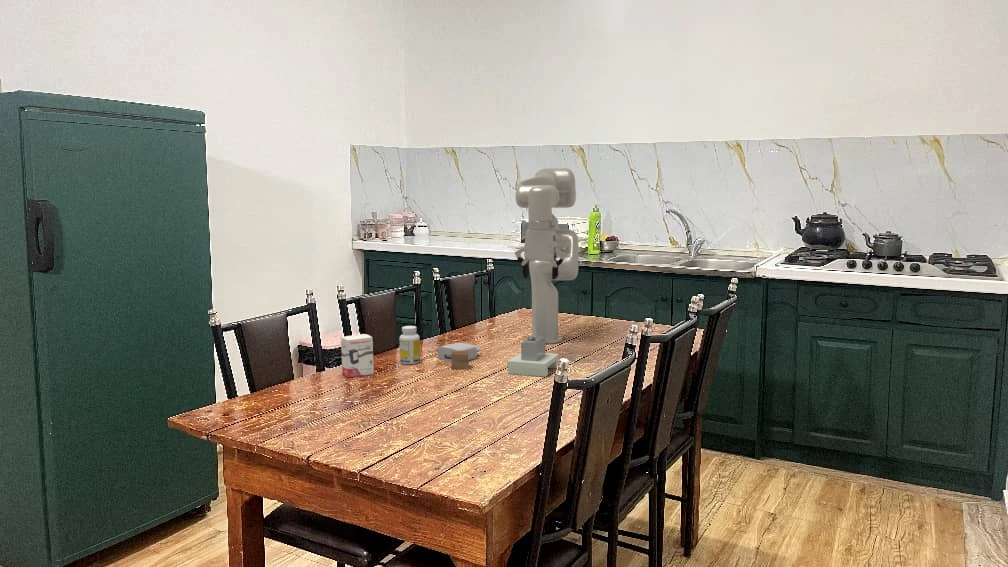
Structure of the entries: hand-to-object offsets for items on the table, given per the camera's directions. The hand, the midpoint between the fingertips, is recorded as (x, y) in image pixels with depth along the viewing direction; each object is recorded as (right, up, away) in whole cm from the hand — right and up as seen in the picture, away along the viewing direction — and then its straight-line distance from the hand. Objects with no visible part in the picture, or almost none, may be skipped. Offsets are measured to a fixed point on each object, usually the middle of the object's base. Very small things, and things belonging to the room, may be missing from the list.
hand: (540, 278), depth 262 cm
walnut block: (-26, -28, -9) cm, 39 cm away
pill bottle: (-42, -28, -2) cm, 50 cm away
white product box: (-56, -30, -17) cm, 66 cm away
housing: (-3, -25, -14) cm, 28 cm away
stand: (-3, -29, -14) cm, 32 cm away
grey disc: (+8, -27, -1) cm, 28 cm away
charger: (-25, -27, +4) cm, 37 cm away
